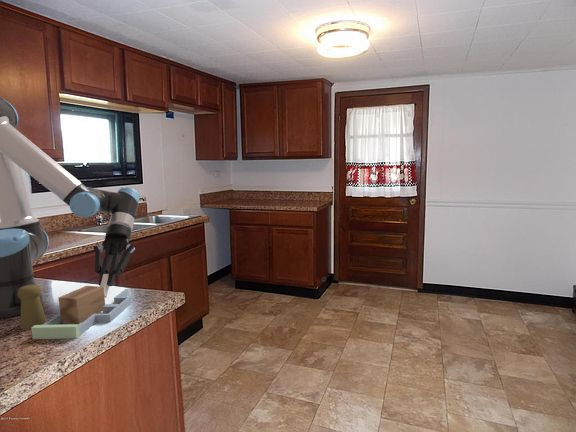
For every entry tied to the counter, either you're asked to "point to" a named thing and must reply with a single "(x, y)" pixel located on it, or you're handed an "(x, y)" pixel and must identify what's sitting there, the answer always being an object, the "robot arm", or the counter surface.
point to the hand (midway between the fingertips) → (102, 295)
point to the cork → (31, 307)
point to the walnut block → (81, 304)
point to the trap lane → (75, 330)
